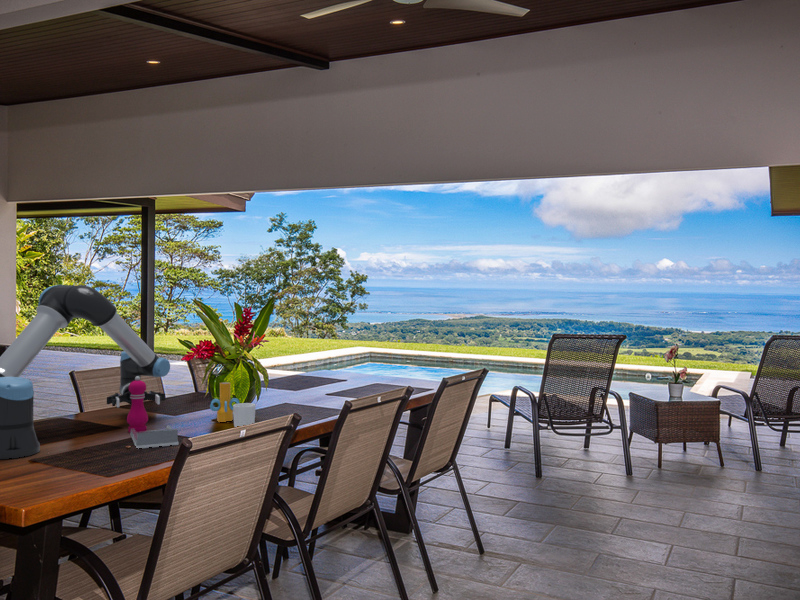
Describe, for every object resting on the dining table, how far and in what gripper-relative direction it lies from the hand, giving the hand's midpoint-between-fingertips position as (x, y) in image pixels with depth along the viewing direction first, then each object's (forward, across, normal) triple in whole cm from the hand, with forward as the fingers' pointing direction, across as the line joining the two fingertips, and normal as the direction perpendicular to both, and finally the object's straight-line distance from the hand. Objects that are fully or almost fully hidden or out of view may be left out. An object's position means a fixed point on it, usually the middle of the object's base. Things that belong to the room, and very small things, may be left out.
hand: (138, 402), depth 239 cm
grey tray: (+15, -3, -11) cm, 19 cm away
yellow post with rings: (-6, -32, -11) cm, 34 cm away
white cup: (+17, -34, -11) cm, 39 cm away
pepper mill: (-2, 0, -11) cm, 11 cm away
